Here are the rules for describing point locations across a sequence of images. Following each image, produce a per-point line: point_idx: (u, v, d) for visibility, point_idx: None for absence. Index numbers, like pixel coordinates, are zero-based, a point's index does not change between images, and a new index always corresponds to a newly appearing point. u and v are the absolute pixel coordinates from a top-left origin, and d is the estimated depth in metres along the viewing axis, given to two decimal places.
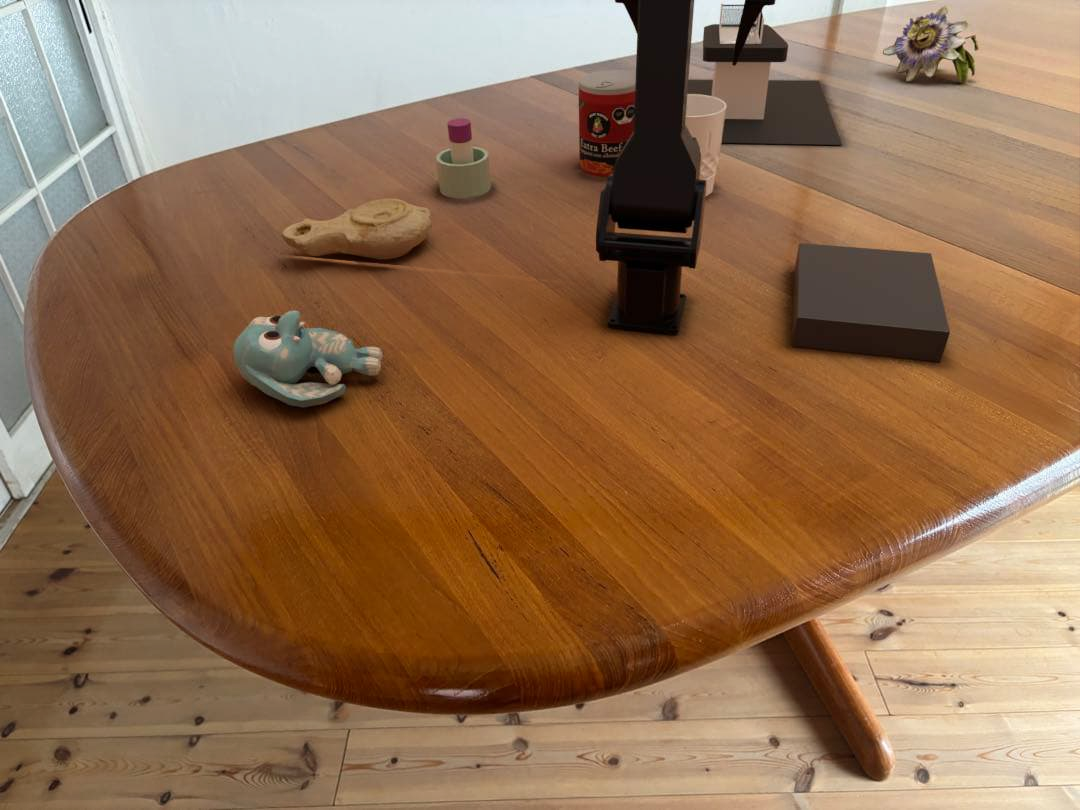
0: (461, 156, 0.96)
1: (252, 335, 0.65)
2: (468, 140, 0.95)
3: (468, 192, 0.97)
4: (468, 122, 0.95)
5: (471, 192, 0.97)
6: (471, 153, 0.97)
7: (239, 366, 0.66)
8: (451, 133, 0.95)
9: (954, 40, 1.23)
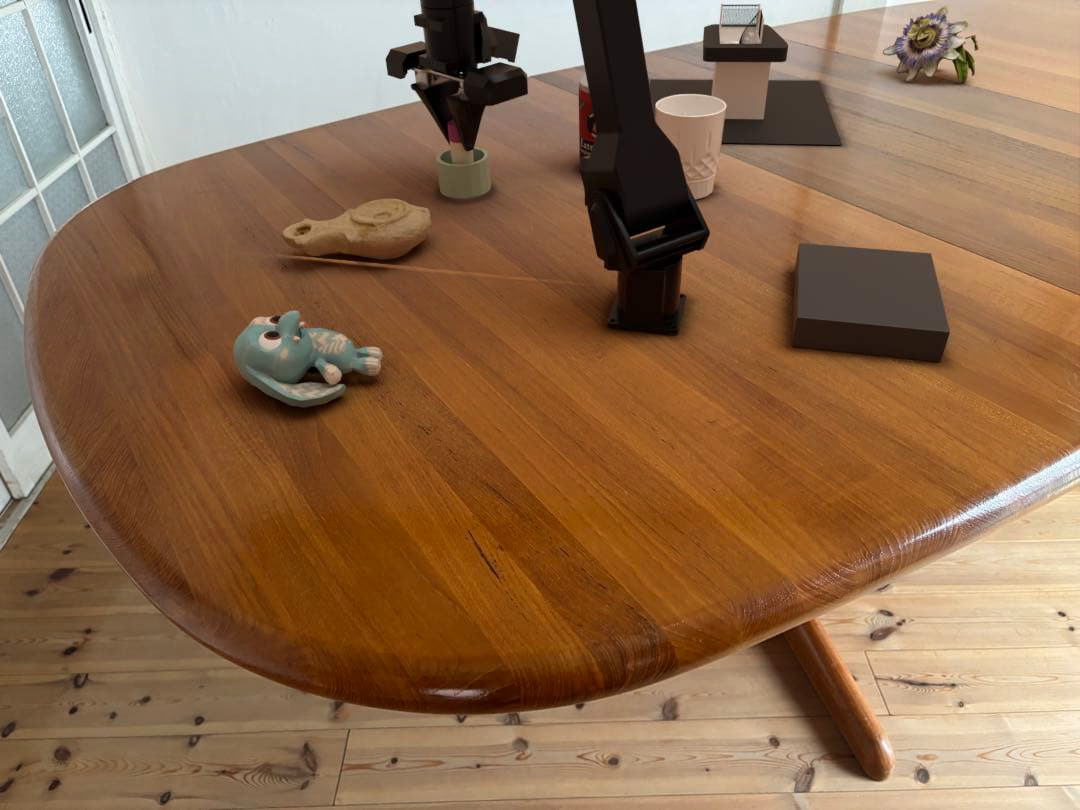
0: (461, 156, 0.96)
1: (252, 335, 0.65)
2: None
3: (468, 192, 0.97)
4: None
5: (471, 192, 0.97)
6: (471, 153, 0.97)
7: (239, 366, 0.66)
8: (451, 133, 0.95)
9: (954, 40, 1.23)
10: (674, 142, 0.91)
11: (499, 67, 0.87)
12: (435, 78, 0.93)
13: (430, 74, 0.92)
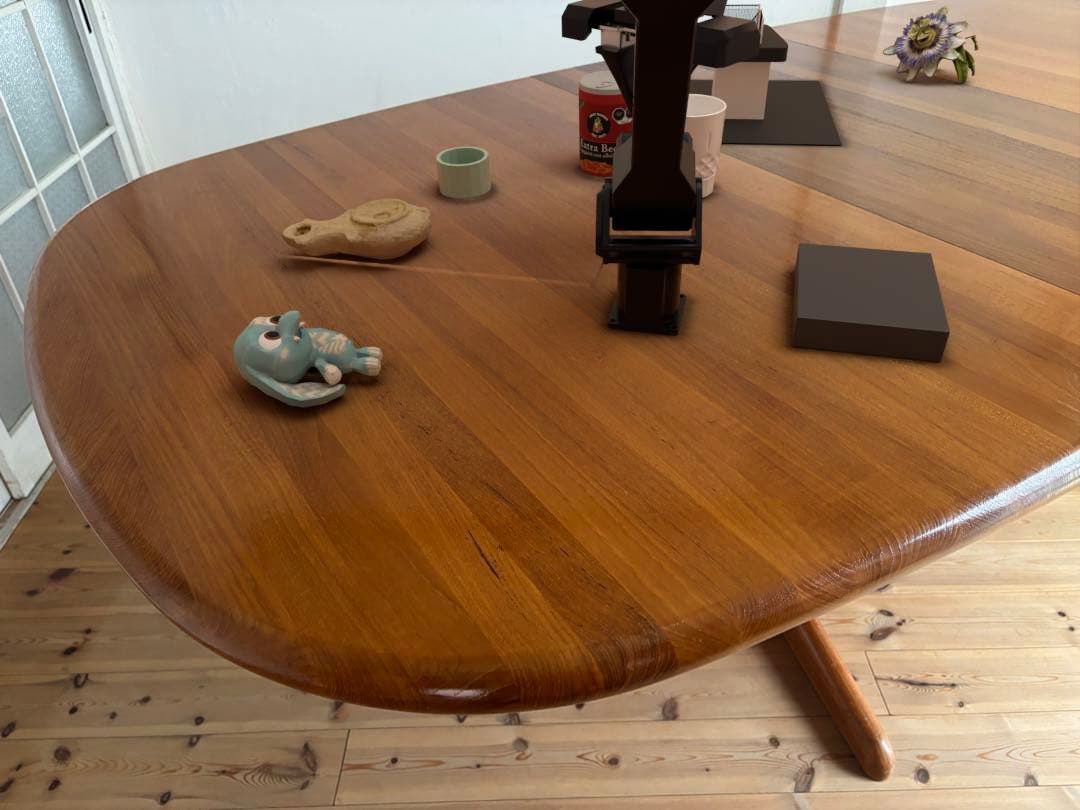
0: None
1: (252, 335, 0.65)
2: None
3: (468, 192, 0.97)
4: None
5: (471, 192, 0.97)
6: None
7: (239, 366, 0.66)
8: None
9: (954, 40, 1.23)
10: None
11: (727, 20, 0.69)
12: (628, 38, 0.75)
13: (623, 33, 0.74)
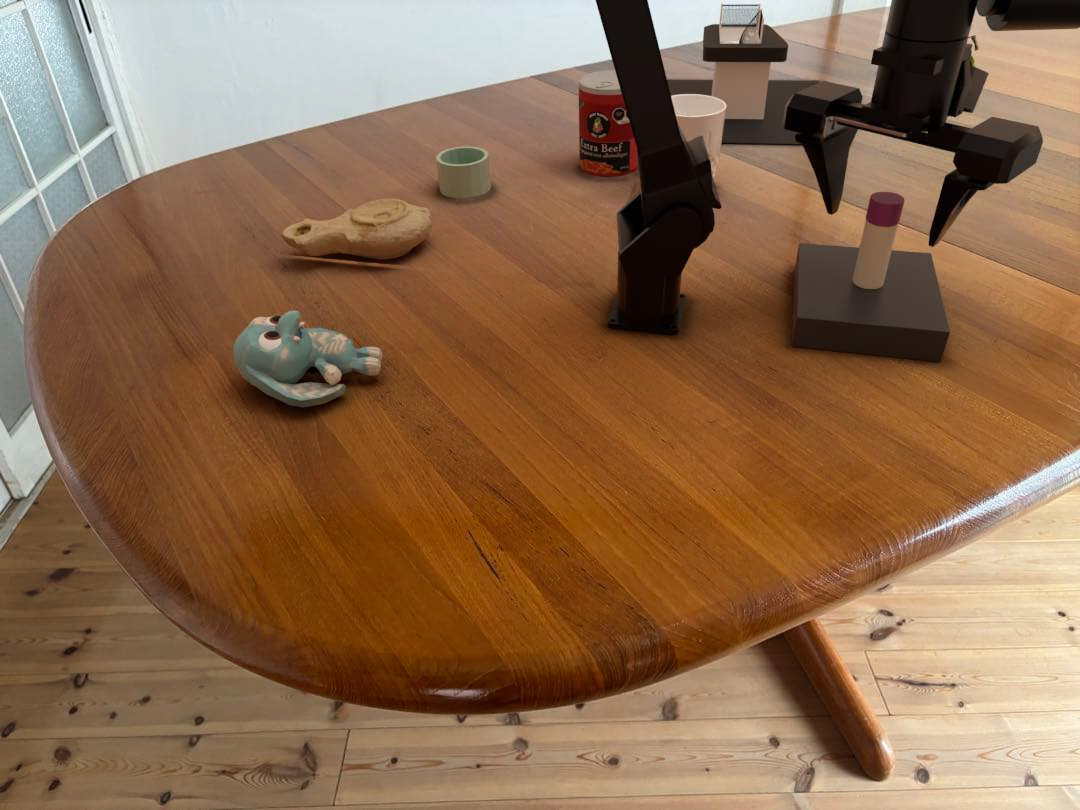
0: (884, 244, 0.69)
1: (252, 335, 0.65)
2: (897, 222, 0.69)
3: (468, 192, 0.97)
4: (902, 198, 0.68)
5: (471, 192, 0.97)
6: None
7: (239, 366, 0.66)
8: (878, 213, 0.68)
9: None
10: None
11: (1005, 126, 0.60)
12: (833, 127, 0.68)
13: (830, 122, 0.67)
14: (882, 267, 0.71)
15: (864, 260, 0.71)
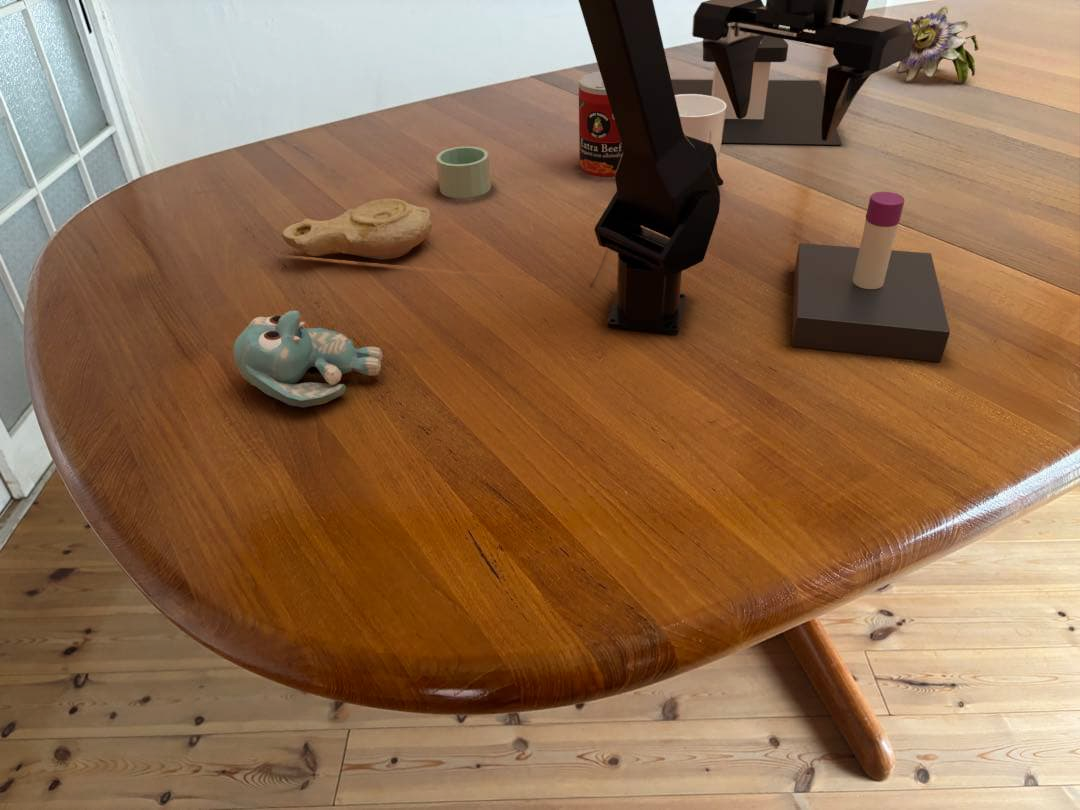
0: (884, 244, 0.69)
1: (252, 335, 0.65)
2: (897, 222, 0.69)
3: (468, 192, 0.97)
4: (902, 198, 0.68)
5: (471, 192, 0.97)
6: None
7: (239, 366, 0.66)
8: (878, 213, 0.68)
9: (954, 40, 1.23)
10: None
11: (879, 21, 0.67)
12: (737, 33, 0.75)
13: (733, 28, 0.74)
14: (882, 267, 0.71)
15: (864, 260, 0.71)
